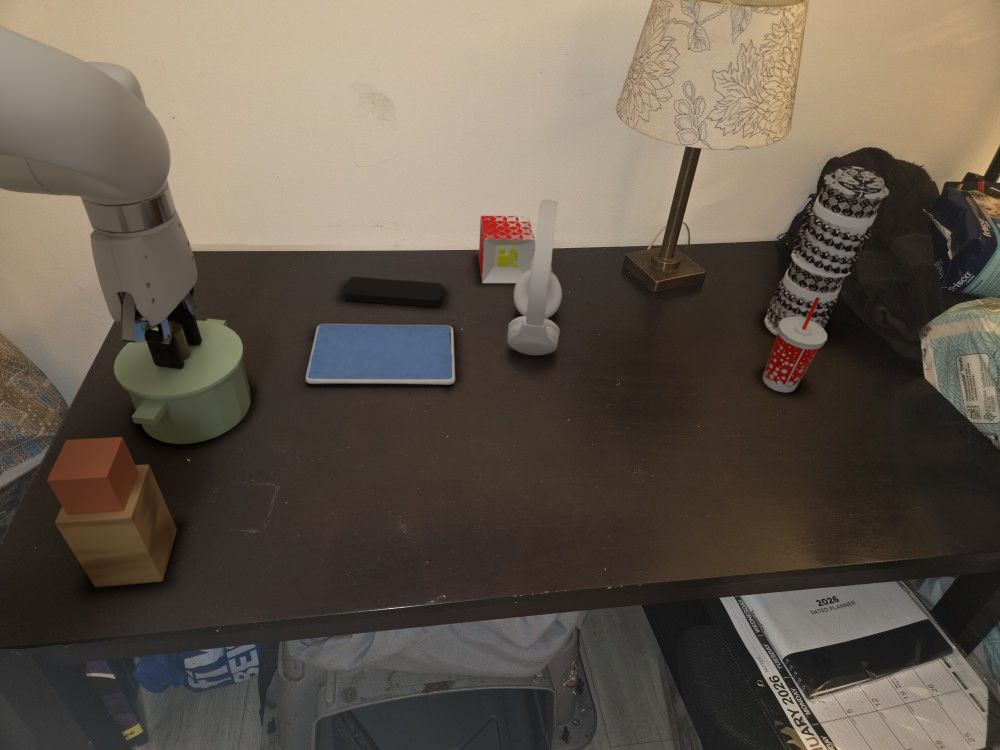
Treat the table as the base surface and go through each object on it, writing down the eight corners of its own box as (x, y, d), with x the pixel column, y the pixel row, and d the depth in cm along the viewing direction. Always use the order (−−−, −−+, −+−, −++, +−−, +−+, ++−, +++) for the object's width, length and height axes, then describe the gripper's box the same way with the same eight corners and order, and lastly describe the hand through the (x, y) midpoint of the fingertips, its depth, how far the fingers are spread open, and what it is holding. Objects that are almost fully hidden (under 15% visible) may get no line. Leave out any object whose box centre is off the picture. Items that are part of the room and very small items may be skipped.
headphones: (559, 303, 102) (577, 182, 89) (554, 378, 88) (575, 248, 75) (514, 297, 102) (525, 176, 89) (502, 372, 88) (514, 241, 75)
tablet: (453, 330, 95) (453, 323, 94) (455, 387, 85) (455, 380, 84) (318, 329, 93) (317, 322, 92) (305, 388, 83) (303, 380, 82)
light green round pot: (274, 366, 86) (264, 320, 81) (214, 468, 72) (198, 420, 67) (181, 355, 86) (166, 308, 82) (105, 454, 73) (81, 405, 68)
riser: (163, 581, 62) (131, 517, 55) (94, 587, 61) (54, 523, 54) (177, 529, 66) (149, 464, 60) (113, 534, 65) (78, 468, 59)
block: (124, 510, 56) (106, 476, 53) (66, 515, 55) (46, 480, 52) (138, 470, 59) (122, 436, 56) (84, 474, 58) (66, 439, 55)
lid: (262, 335, 80) (255, 300, 76) (214, 410, 70) (202, 374, 66) (155, 322, 80) (143, 287, 77) (91, 395, 70) (74, 358, 67)
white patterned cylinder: (762, 304, 105) (822, 154, 89) (821, 318, 103) (894, 167, 87) (760, 335, 99) (824, 179, 82) (823, 351, 97) (902, 194, 81)
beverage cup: (798, 371, 93) (838, 289, 83) (804, 399, 88) (847, 316, 79) (754, 364, 93) (789, 281, 84) (758, 391, 89) (796, 307, 80)
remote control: (444, 292, 103) (349, 282, 102) (444, 283, 102) (348, 273, 101) (441, 310, 99) (342, 300, 98) (441, 301, 98) (342, 290, 97)
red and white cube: (481, 283, 105) (484, 239, 100) (478, 257, 111) (480, 215, 105) (530, 283, 106) (535, 240, 100) (524, 258, 112) (529, 216, 106)
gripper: (138, 167, 69) (182, 309, 80) (37, 243, 56) (106, 399, 68) (207, 174, 68) (241, 316, 80) (121, 253, 56) (176, 407, 68)
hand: (179, 353), depth 74 cm, fingers open, 3 cm apart
